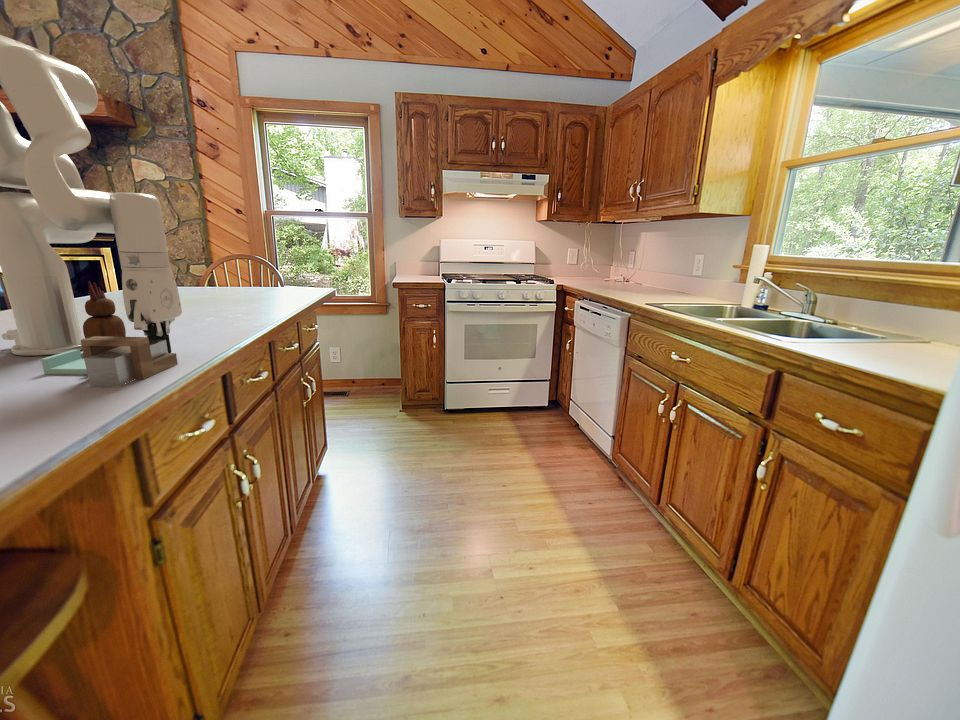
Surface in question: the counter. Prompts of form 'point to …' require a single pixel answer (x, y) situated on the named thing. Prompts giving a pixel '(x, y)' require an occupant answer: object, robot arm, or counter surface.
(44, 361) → the cradle
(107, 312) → the wooden figurine
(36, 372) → the counter surface
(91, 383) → the bar
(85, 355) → the brown wooden stepped stand
